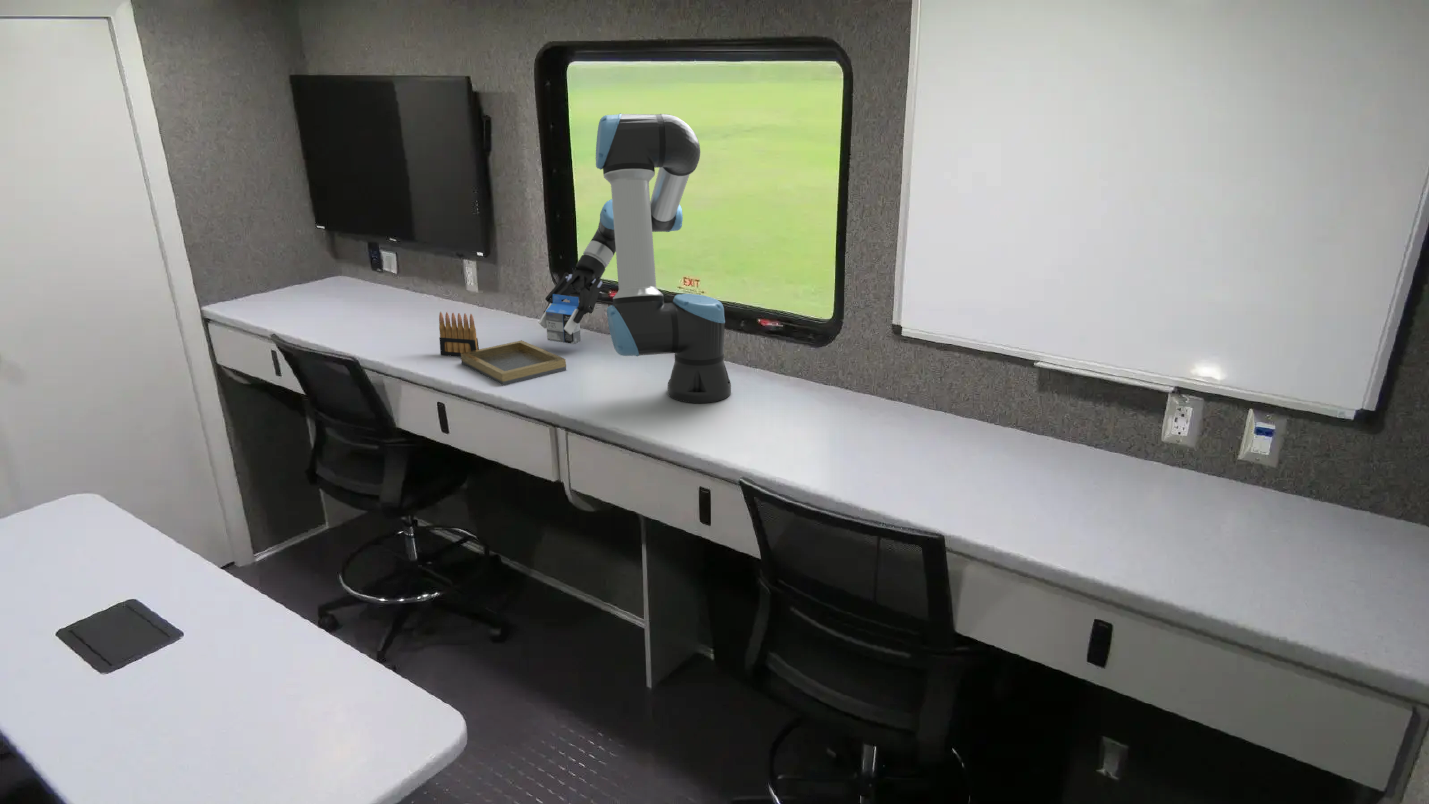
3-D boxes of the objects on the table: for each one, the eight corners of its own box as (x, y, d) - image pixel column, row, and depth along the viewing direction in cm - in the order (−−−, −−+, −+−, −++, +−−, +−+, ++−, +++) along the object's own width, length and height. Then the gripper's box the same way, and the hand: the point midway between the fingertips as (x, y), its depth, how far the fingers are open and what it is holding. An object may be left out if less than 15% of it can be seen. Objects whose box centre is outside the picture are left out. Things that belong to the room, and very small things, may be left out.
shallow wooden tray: (566, 370, 219) (565, 359, 218) (503, 385, 208) (502, 374, 206) (522, 350, 234) (521, 340, 233) (461, 364, 223) (460, 353, 222)
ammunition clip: (480, 356, 229) (475, 313, 225) (476, 358, 228) (472, 314, 223) (443, 353, 232) (439, 310, 227) (440, 355, 230) (435, 312, 226)
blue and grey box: (546, 340, 234) (543, 296, 230) (555, 337, 237) (552, 293, 233) (573, 344, 230) (570, 299, 226) (581, 341, 234) (579, 296, 229)
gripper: (630, 274, 233) (590, 343, 227) (574, 264, 246) (535, 329, 239) (615, 258, 227) (574, 327, 221) (559, 248, 240) (519, 314, 234)
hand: (554, 328), depth 230 cm, fingers closed on blue and grey box, 9 cm apart
